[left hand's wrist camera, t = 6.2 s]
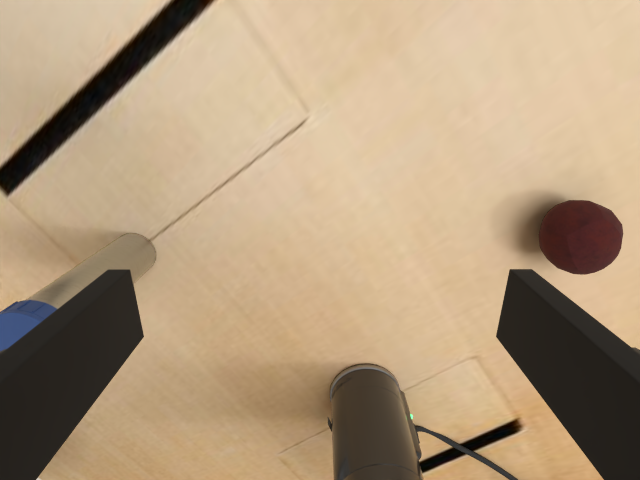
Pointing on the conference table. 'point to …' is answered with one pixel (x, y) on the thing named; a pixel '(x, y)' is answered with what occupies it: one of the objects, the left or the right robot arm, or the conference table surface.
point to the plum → (580, 236)
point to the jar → (101, 268)
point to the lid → (21, 320)
